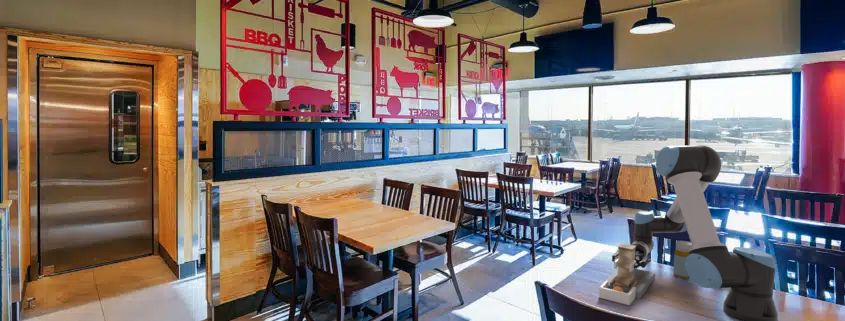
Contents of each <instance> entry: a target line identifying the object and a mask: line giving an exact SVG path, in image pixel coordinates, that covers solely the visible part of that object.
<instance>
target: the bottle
mask: <svg viewBox="0 0 845 321" xmlns="http://www.w3.org/2000/svg"><path fill="white" fill-rule="evenodd" d="M691 247H692V244H691V241H685V240H677V241H676V242H675V250H674V257H673V273H672V274H673V276H675V277H676V278H679V279H683V280H691V278H690V277H689V275H688V273H687V270H686V266H685V264H686V258H687V257H688V256H689V255H690V254H689V250H690V249H691Z"/></svg>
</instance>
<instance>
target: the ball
mask: <svg viewBox="0 0 845 321" xmlns="http://www.w3.org/2000/svg"><path fill="white" fill-rule="evenodd" d="M612 290H616V291H620V292H623V289H622V288H621V287H619V286H616V287H614V288H613V289H612Z"/></svg>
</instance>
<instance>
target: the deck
mask: <svg viewBox="0 0 845 321" xmlns="http://www.w3.org/2000/svg"><path fill="white" fill-rule="evenodd" d="M642 272H645V275H644V276H643V277H642V279H641V280H640V281H639V283H638V284H637V285H636V286H635V287H636V295H635V297H636V298H635V299H638V300H639V299H640V300H641V298H642V297H643V296H644V294H645V293H646V291H647V290H648V288H649V287H650V286H651V284H652V283H653V282H654V280H655V279H656V278H655V276H656V275H655V274H656V273H655V272H654V271H653V272H652V271H649V270H648V271H647V270H642V269H639V268H637V269H636V268H635V269H634V282H635V280H636V279H637V278H638V277H639V276H640V274H641V273H642ZM617 275H618V267H617V268H616V269H615V270H614V271H613V272H612V273H611V274H610V275H609V276H608V277H607V278H606V279H605V280H604V281H603V282H602V283H601V285H602V284H603V283H604V282H605V281H609V284H608V289H613V288H614V287H616V286H619V285H615V283H614V284H613V285H612V286H610V282H611V281H612V280H613V279H614V278H615V277H616V276H617ZM634 282H633V283H634ZM633 283H632V284H633ZM632 284H631V285H632ZM619 287H621V288H622V289H623V292H624V293H628V292H629V291H630V287H631V286H630V287H629V288H627V287H623V286H619Z"/></svg>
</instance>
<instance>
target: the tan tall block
mask: <svg viewBox="0 0 845 321" xmlns="http://www.w3.org/2000/svg"><path fill="white" fill-rule="evenodd" d="M635 249H636V246H633V245H631V244H629V243H628V244H627V243H621V244H619V245H618V246H617V250H619V253H618V267H617V268H618V277H617V278H616V279H615V285H619V286H623V287H627V288H629V287H630V286H631V284H632V283H633V282H634V270H633V271H632V272H629V270H630V264H631V263H632V262H633V261H635Z"/></svg>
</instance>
